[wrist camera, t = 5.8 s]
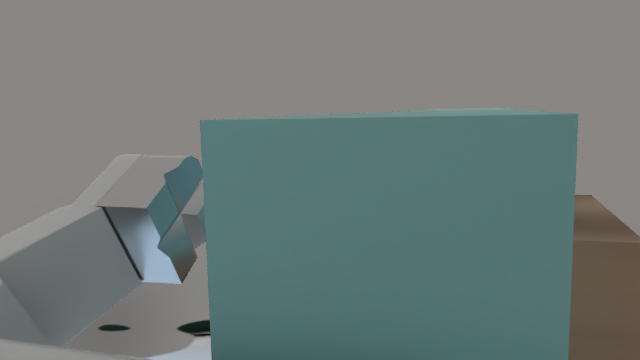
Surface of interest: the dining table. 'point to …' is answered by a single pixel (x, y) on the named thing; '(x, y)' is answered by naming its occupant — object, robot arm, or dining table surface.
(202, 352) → the dining table surface
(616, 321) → the stand
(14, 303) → the robot arm
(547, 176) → the bar
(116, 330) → the dining table surface
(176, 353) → the dining table surface
